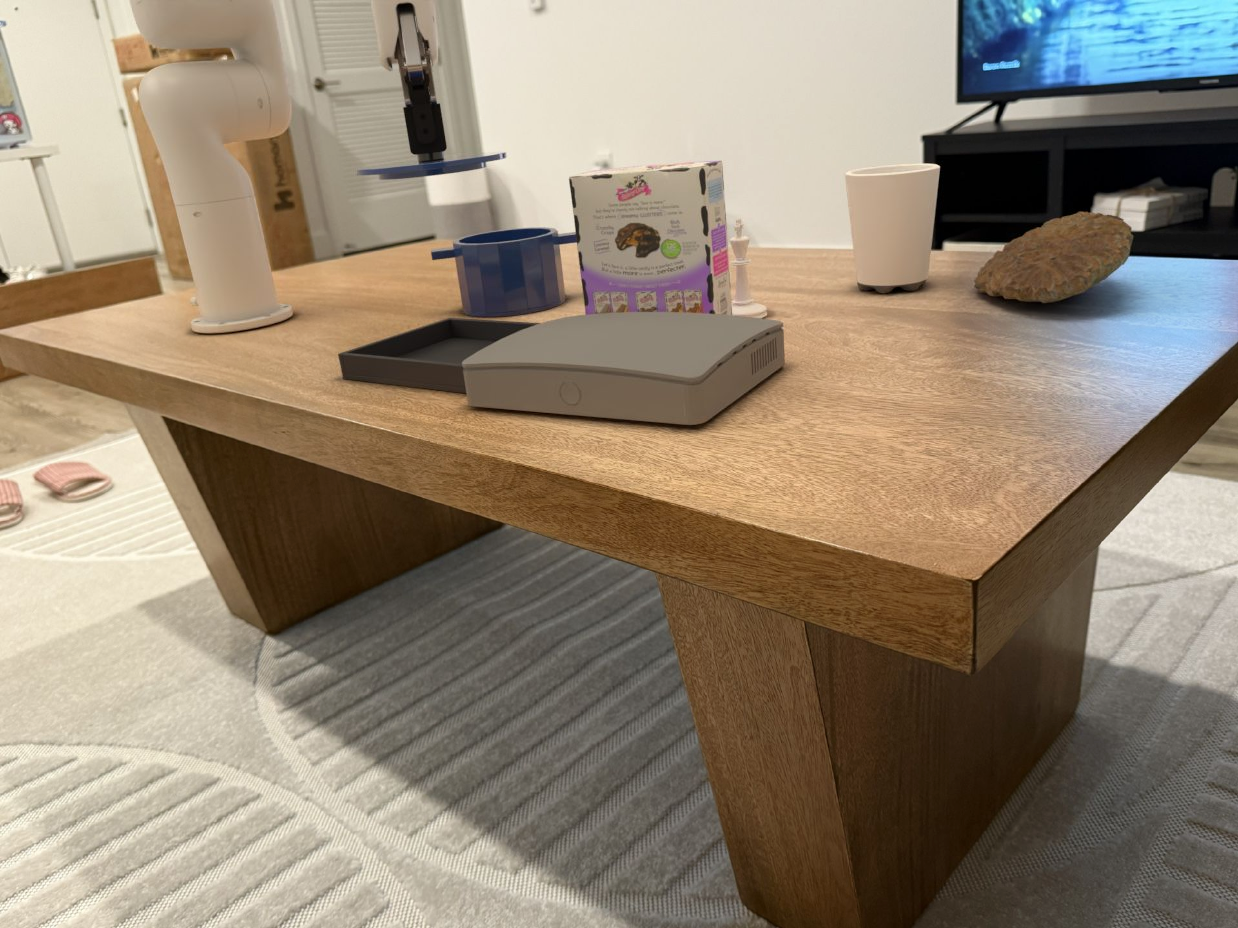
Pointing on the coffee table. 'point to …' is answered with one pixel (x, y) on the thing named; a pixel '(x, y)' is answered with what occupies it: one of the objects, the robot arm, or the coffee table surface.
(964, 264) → the coffee table surface
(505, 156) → the lid
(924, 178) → the cup
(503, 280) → the pot
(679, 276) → the candy box
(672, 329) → the electronic device
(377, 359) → the tray
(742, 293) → the chess piece
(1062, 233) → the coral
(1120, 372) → the coffee table surface
